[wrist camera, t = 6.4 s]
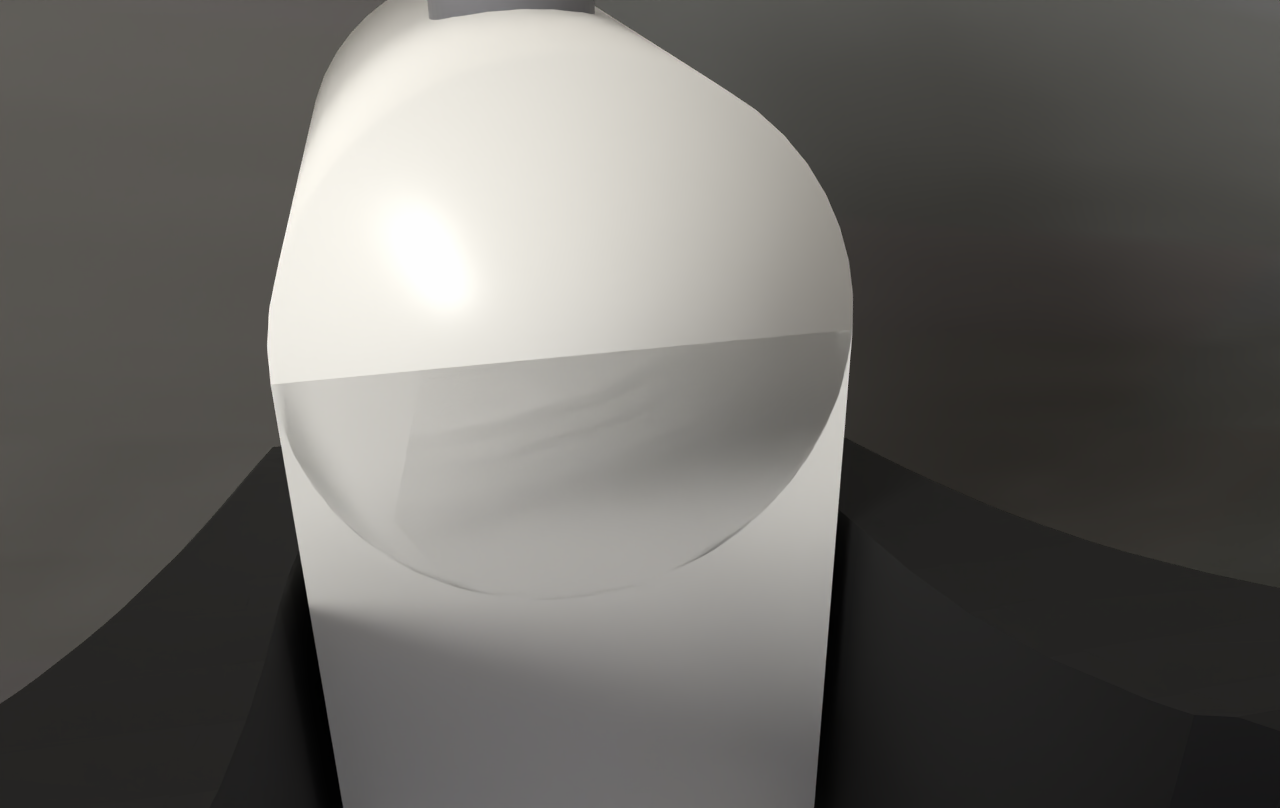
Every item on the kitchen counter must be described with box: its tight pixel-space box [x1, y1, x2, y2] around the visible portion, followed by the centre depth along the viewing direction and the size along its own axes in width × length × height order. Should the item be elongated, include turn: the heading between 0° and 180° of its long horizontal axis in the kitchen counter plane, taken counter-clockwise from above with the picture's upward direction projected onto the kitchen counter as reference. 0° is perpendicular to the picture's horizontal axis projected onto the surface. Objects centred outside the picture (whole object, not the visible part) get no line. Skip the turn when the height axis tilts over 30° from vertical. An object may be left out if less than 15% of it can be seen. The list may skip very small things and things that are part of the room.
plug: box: [267, 0, 853, 808], centre depth 10 cm, size 13×4×5 cm, turn 1°
